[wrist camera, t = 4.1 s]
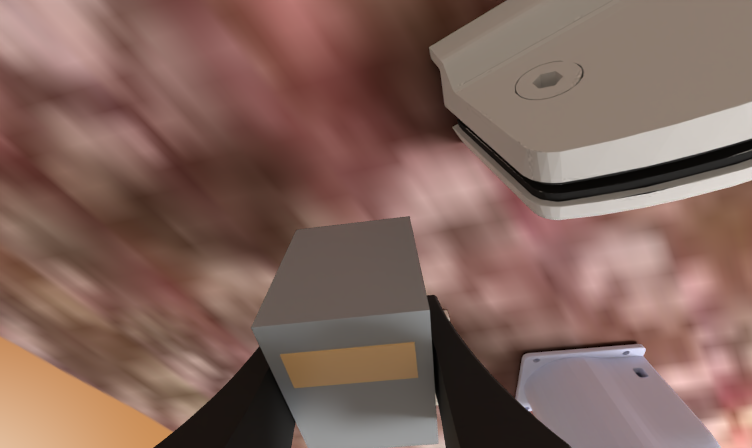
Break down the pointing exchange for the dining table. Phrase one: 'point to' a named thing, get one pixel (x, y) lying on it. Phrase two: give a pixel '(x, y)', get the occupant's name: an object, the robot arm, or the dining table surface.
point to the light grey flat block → (604, 100)
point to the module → (352, 336)
